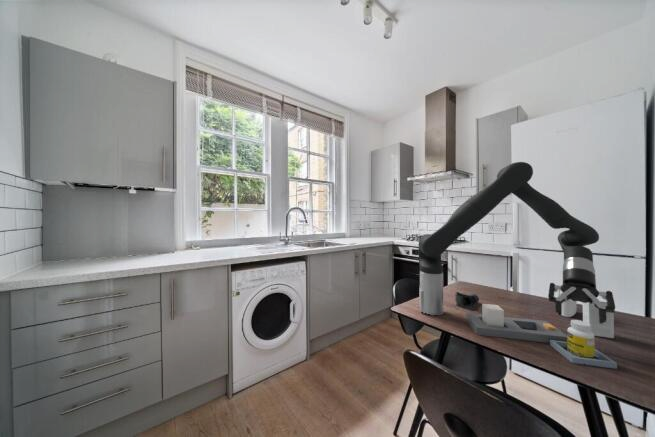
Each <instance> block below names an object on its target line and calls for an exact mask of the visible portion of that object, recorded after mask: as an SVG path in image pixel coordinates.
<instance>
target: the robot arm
mask: <svg viewBox="0 0 655 437" xmlns="http://www.w3.org/2000/svg"><path fill="white" fill-rule="evenodd" d="M533 175H534V170H533V166H532V165H531V164H529V163H528V162H525V161H518V162H513V163H510V164H509V165H507V166H504V167H503V168H501V169H500V170H499V171H498V172H497V174H496V178H495V180H494V181H493V182H491V183H490V184H489V185H488V186H486V187H485V188H483V189H482V190H480V191H478V192H477V193H475V194H474V195H472V196H471V197H469V198H468V199H467V200H466V201H464V202H463V203H462V204H461V205H459V207H458V208H456V209H455V211H453V213H452V214H451V215H450V217H449V218H448V220H447V221H446V223H444V224H443V225H442V226H441V227H440V228H438V229H437V230H436V231H434V232H432V233H430V234H429V233H427V234H424V235H423V236H421V237H420V239H419V241H418V264H419V288H418V289H419V290H418V291H419V292H418V293H419V294H418V295H419V299H418V301H419V302H418V303H419V304H418V305H419V307H420V308H419V307H418V308H419V311H420V313H421V312H424V313H423V314H425V313H427V314H426V315H428V314H430V315H429V316H434V315H438V316H442V315H443V314H444V266H443V263H442V262H443V261H442V254H443V253H444V252H445V251H446V250H447V249H448V248H449V247H450V246H451V245H452V244H453V243H454V242H455V241H456V240H457V239H458V238H459V237H460V236H462V235H464V234H465V233H466V232H468V231H469V230H470V229H472V227H474V226H475V225H477V224H478V223H479V222H481V221H482V220H483V219H484V218H485V217H486V216H488V214H489V213H491V212H492V211H493V210H494V209H495V208H496V207H497V206H499V204H500V203H501V202H502V201H503V200H504V199H506V198H507V197H508V196H510V195H511V194H513V196H515V197H517V198H518V200H520V201H522V202H523V203H524V204H526V205H527V206H528V207H530V209H532V210H533V211H534V212H535V213H536V214H537V215H538V216H539V217H540V218H541V219H542V220H543V221H544V222H545V223H546V224H547V225H548V226H549V227H551V228H552V229H555V230H557V229H558V230H559V229H566V230H564V231H562V232H560V233H559V234H558V236H557V241H558V244H559V246H560V247H561V249H562V253H563V263H562V284H561V285H557V284H555V283H554V282H550V283H549V288H548V296H547V297H548V301H549V302H553V303H554V304H555V312H556V313H557V314H558V315H559V316H562V303H563V302H566V301H568V300H569V299H571V300H572V301H576V302H581V303H582V304H583V303H587V302H589V303H590V304H591V305H592V306H593V307H595V308H596V309H597V310H599V311H598V314H599V323H601V324H603V322H606V320H607V317H606V313H607V312H611V313H615V311H616V304H615V300H614V298H615V297H614V295H613V292H612V291H611V290H607V291H599V290H598V289H597V281H596V279H597V278H596V269H595V266H594V265H595V264H594V256H593V251H592V250H591V249H590V248H588V247H586V246H589V245H592V244H595V243H597V242H599V240H600V234H599V232H598V231H597V230H596V229H595V228H594V227H592V226H591V225H589V224H587V223H586V222H583V221H581V220H579V219H578V218H576V217H575V216H573V215H571V214H570V213H569V212H568V211H567V210H566V209H565V208H564V207H563V206H561V205H560V204H559V203H558V202H557V201H556V200H554V199H552V198H550V197H549V196H547V195H546V194H543V193H541V192H540V191H538V190H537V189H535V188H534V187H533V186H532V185H530V184H529V183H528V182H529V181H530V180H531V179H532V177H533ZM558 290H561V291H562V292H563V293H562V294H561V295H560V296H559V297H558V296H557V297H555V292H556V293H558ZM599 296H600V297H601V299H604V300H606V301H607V306H604V305H603V304H602V303H601V302H600V301H599V300H598V299H597V298H598V297H599Z"/></svg>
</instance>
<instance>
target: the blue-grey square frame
mask: <svg viewBox="0 0 655 437" xmlns="http://www.w3.org/2000/svg"><path fill="white" fill-rule="evenodd" d="M549 345H550V346H551V347H552V348H554V349H555V350H556V351H557V352H559V354H561V356H563V357H564V358H566V359H567V360H568V361H569V362H570V363H572V364H576V365H577V364H579V365H584V364H585V365H587V366H593V367H600V368H608V369H616V370H617V369H618V363H617V362H616V361H614V360H613V359H612V358H610V357H608V356H607V355H606V354H604V353H603V352H600V351H599V350H598V349H596V348H595V357H596V358H594V359H591V358H583V357H575V356H572V355H571V354H570V353H569V352H568V351H567V350H566V349H565V348H567V342H564V341H555V340H550V343H549ZM597 358H598V359H597Z"/></svg>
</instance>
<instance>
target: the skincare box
mask: <svg viewBox="0 0 655 437" xmlns="http://www.w3.org/2000/svg"><path fill="white" fill-rule="evenodd" d="M596 298H597V299H598V300H599V301H600V302H601V303H602V304H603V305H604V306H607V301H606V300H604V299H603V298H598V297H596ZM598 311H599V310H597V309H596V308H595V307H593V306H592V305H591V304H590V303H589V302H587V303H583V302H582V321H584V322H587V323H589V324H590V325H591V330H590V331H591V332H592V333H593V334H594V337H602V338H608V339H614V338H615V322H614V320H615V319H614V318H615V317H614V316H615V315H614V313H615V312H614V313H611V312H607V313H606V317H607V320H606V322H603V324H601V323H599V314H598Z"/></svg>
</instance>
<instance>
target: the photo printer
mask: <svg viewBox="0 0 655 437" xmlns="http://www.w3.org/2000/svg"><path fill="white" fill-rule="evenodd" d="M562 293H563V292H562V291H561V290H558V291H557V294H558V295H557V297H559V296H560V295H561V294H562ZM576 313H577V301H572V300H571V299H569V300H568V301H566V302H563V303H562V315H561V316H562V317H564V318H565V317H566V318H571V317H573V316H574V315H576Z"/></svg>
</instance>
